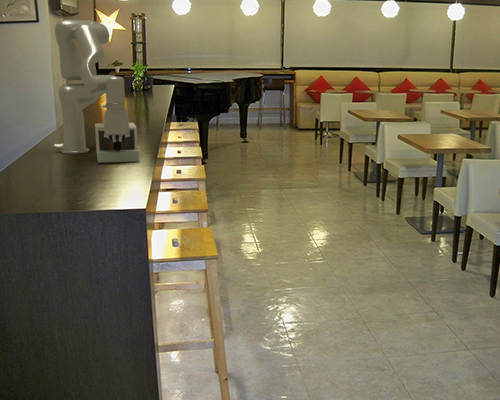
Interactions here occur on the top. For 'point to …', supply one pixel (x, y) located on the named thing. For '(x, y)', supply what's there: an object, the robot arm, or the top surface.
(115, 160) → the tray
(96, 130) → the cabinet
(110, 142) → the lighter
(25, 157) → the top surface
